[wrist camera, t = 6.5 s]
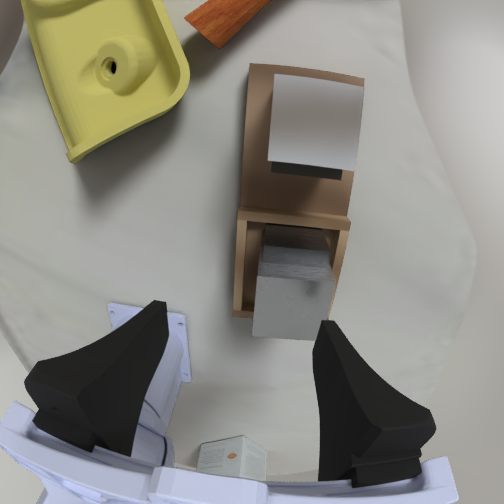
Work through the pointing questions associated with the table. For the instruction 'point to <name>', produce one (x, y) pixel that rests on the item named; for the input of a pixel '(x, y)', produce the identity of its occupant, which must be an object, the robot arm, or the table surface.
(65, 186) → the table surface
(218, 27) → the kendama
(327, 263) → the grey metal block
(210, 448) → the small box
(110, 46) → the plastic component
